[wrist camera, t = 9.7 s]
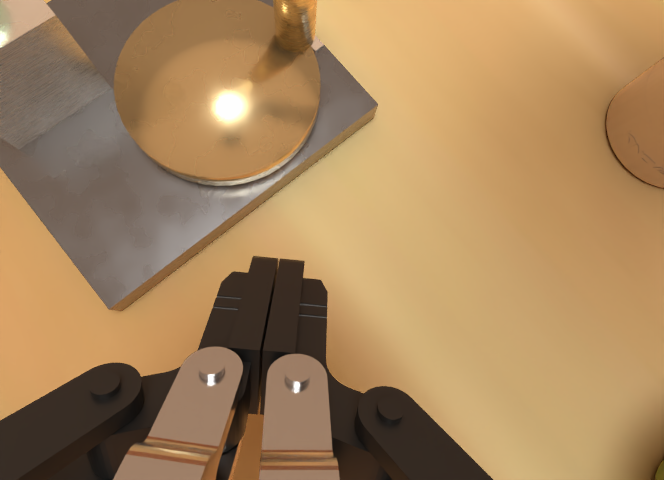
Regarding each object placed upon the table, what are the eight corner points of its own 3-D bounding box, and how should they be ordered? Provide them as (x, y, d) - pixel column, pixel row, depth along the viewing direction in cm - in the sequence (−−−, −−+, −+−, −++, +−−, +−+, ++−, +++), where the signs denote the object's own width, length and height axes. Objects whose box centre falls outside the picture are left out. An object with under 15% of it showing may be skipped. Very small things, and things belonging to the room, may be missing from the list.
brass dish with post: (148, -5, 31) (83, -152, 21) (331, 27, 31) (346, -103, 22) (101, 168, 28) (3, 85, 19) (303, 200, 29) (306, 135, 19)
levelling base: (208, -65, 35) (173, -220, 25) (373, 118, 33) (405, 26, 23) (-49, 89, 31) (-210, -24, 21) (121, 311, 28) (30, 300, 19)
